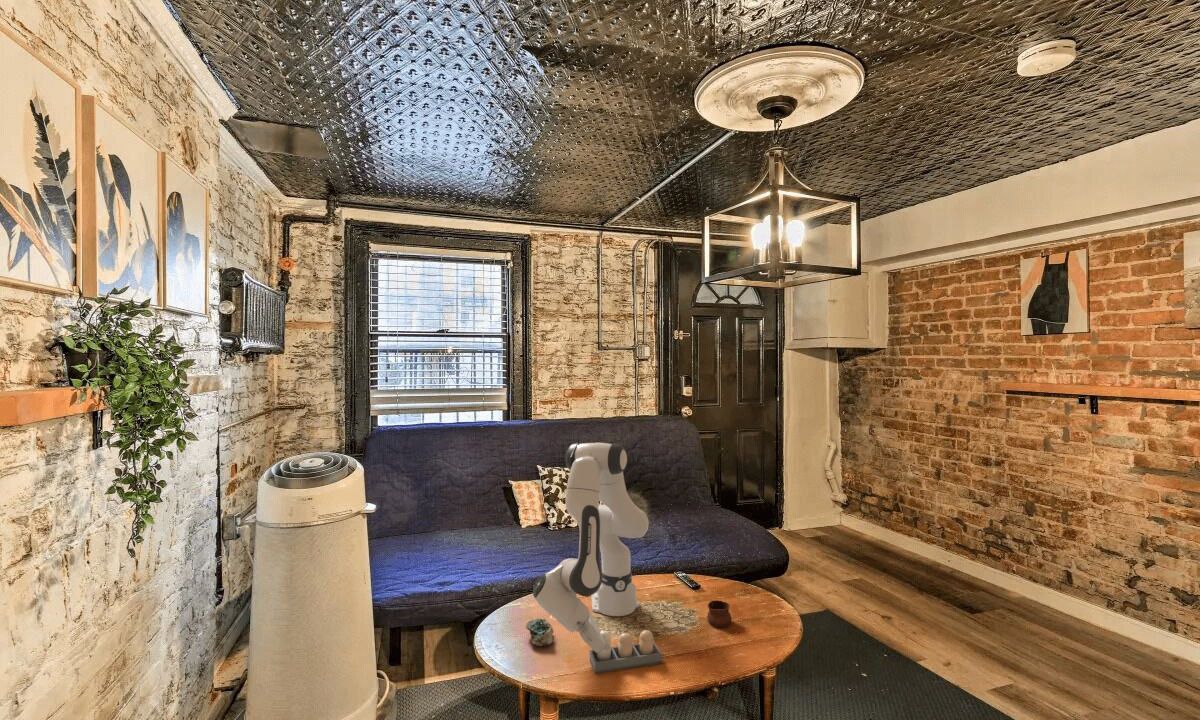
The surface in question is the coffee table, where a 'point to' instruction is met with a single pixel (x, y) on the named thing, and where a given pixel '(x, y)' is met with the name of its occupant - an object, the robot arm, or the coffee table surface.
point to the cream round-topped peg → (604, 654)
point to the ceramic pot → (719, 614)
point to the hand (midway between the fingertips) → (605, 643)
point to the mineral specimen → (540, 632)
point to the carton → (629, 654)
